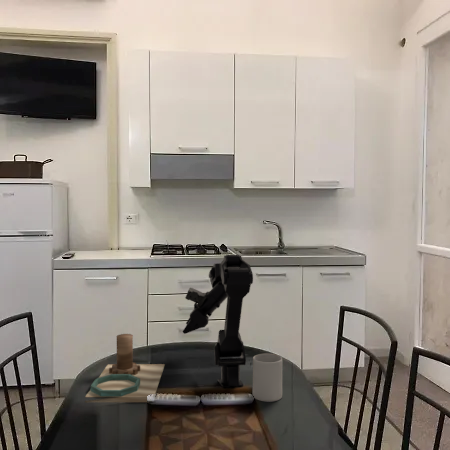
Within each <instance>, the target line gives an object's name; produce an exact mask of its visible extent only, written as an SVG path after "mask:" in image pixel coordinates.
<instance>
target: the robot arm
mask: <svg viewBox="0 0 450 450" xmlns="http://www.w3.org/2000/svg"><path fill="white" fill-rule="evenodd" d="M208 279H209V282H210V284H211V287H212V288H211V290H210V291H206V293H204V292H202V291H200V290H198V289H196V288H193V287H189V289H188V290H187V292H186V295H185V297H184V298H185V300H187V301H191V302H194V305H193V309H192V311H191V312H190V314H189V318H188V319H187V321H186V323H185V324H186V325H185V327H184V329H183V330H182V334H184V335H185V334H188V333H191V332H194V331H196V330H199V329H204V328H205V327H206V326H207V325H208V324H209V322H210V321H209V320H210V317H211V316H212V315H213V312H215V311H216V310H217V309H219V308H220V307H221V304H223V303H224V301H225V300H226V310H225V316H224V317H225V318H224V319H225V320H224V329H219V331H218V336H217V342H215V345H214V346H213V352H214V365H215V366H217V367H219V368H220V367H221V368H220V370H221V371H220V373H221V376H220V377H221V378H218V379H217V381H218V383H219V385H220V386H221V387H222V386H223V387H227V388H230V387H229V386H237V387H243V386H244V383H243V382H242V381H241V377H240V376H241V366H246V362H247V361H246V360H247V358H246V353H245V352H246V351H245V345H244V341H243V340H242V336H241V333H240V325H241V319H242V318H241V317H242V309H243V301H244V298H245V297H246V296H247V295H248V294H249V293H250V291H251V286H252V285H253V283H254V273H253V271H252V268H251V265H250V264H249V263H248V262H246V261H245V260H244V259H242V256H241V255H239V254H226V255H224V256H223V260H222V261H221V262H219V263H214V264H213V266H211V268H210V270H209V273H208ZM223 387H222V388H223Z"/></svg>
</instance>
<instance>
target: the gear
mask: <svg viewBox="0 0 450 450" xmlns="http://www.w3.org/2000/svg"><path fill="white" fill-rule="evenodd" d="M133 337H134V336H133V334H131V333H121V334H118V335H116V363H114V364H113V365H112V368H109V374H131V375H133V374H134V375H136V374H138V371H140V365H136V364H137V363H136V362H133V361H134V360H133V358H134V354H133V353H134V352H133V351H134V350H133V349H134V347H133V345H134V342H133V341H134V340H133Z"/></svg>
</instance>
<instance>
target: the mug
mask: <svg viewBox="0 0 450 450" xmlns="http://www.w3.org/2000/svg"><path fill="white" fill-rule="evenodd" d="M251 393H252V397H253V396H254V397H253V398H254V399H255V400H257V401H261V402H266V403H267V402H268V403H269V402H270V403H271V402H277V401H279V400H281V399H282V398H283V357H281V355H278V354H274V353H259V354H256V355H254V356H253V357H252V391H251Z"/></svg>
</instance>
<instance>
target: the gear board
mask: <svg viewBox="0 0 450 450" xmlns="http://www.w3.org/2000/svg"><path fill="white" fill-rule="evenodd" d="M112 365H113V364H109V363H108V364H107V365H106V366H105V368H104V369H103V371H102V372H101V374H100V375H99V376H98V377H97V378H95V379H94V381H93V382H92V383H91V385H90V389H89V391H88V392H87V393H86V395H85V398H99V399H91V400H89V399H88V400H85V401H84V403H148V402H147V396H148V395H150V394H156V393H157V390H158V386H159V383H160V381H161V377H162V375H163V371H164V369H165V365H166V364H164V363H163V364H162V363H157V364H155V363H151V364H150V363H149V364H147V363H145V364H143V363H141V364H140V363H139V364H137V363H136V365H140V371H138V374H136V375H134V374H133V375H131V374H109V368H112Z"/></svg>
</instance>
